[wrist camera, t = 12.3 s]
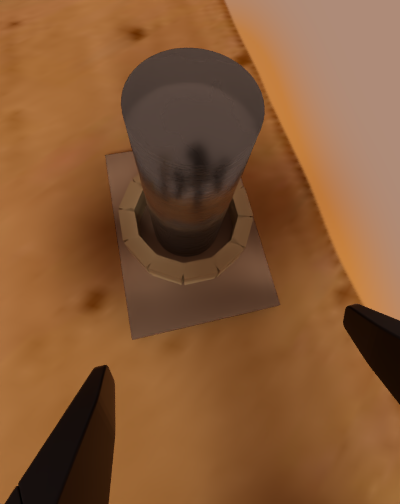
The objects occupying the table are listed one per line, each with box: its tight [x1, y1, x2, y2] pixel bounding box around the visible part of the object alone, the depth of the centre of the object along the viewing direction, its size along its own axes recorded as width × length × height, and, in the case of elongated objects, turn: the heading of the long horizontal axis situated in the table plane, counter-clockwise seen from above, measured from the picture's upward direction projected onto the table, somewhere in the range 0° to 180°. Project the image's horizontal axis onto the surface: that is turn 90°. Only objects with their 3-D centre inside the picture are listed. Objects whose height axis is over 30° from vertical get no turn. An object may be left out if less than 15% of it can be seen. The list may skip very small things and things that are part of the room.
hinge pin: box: [121, 48, 264, 257], centre depth 14 cm, size 5×5×11 cm
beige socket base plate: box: [105, 151, 280, 340], centre depth 19 cm, size 14×10×3 cm
